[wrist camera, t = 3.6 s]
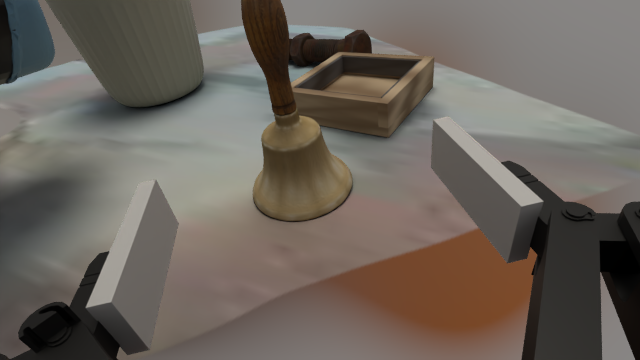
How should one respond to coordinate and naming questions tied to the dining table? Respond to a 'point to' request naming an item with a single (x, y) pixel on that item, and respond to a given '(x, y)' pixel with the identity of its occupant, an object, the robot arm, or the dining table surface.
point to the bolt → (326, 47)
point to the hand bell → (289, 131)
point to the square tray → (364, 91)
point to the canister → (136, 46)
